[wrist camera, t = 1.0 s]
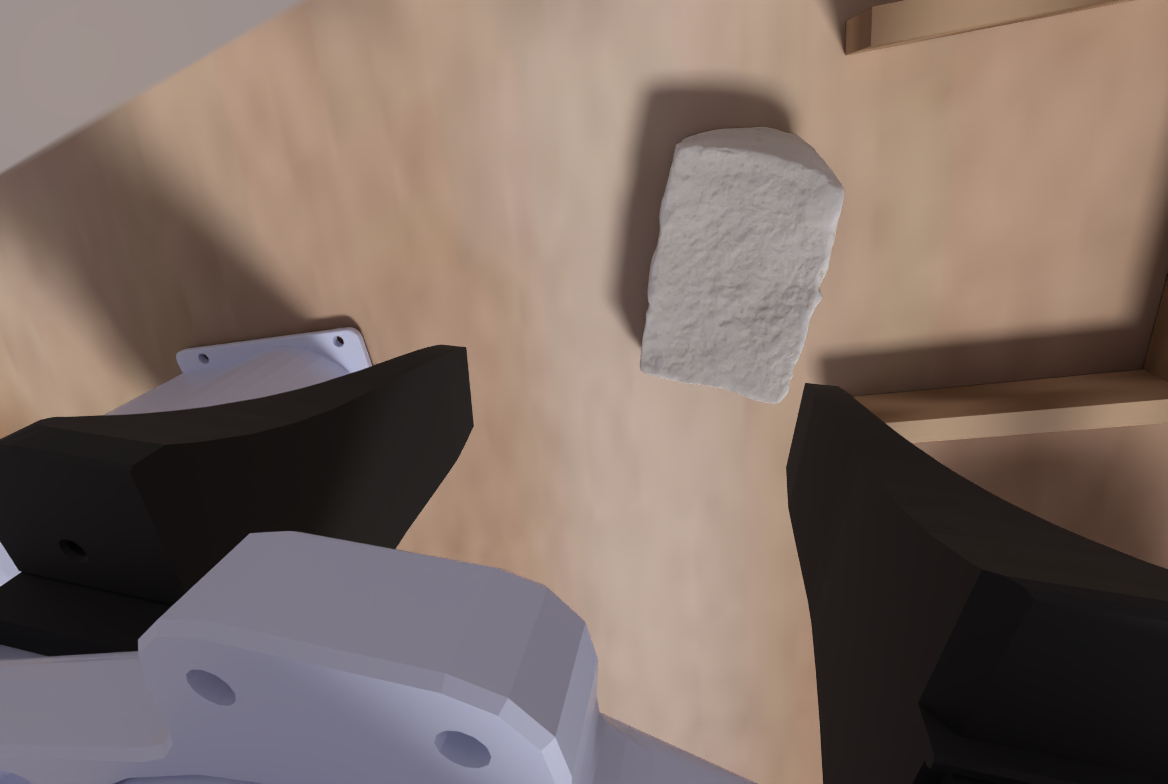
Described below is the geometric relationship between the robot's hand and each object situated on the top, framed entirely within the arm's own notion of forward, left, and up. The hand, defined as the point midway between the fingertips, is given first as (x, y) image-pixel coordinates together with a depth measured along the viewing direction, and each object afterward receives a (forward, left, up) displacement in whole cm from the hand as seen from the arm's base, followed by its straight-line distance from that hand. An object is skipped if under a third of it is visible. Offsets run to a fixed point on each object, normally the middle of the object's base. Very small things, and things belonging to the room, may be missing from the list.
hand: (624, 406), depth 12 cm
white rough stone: (+4, 0, -13) cm, 13 cm away
